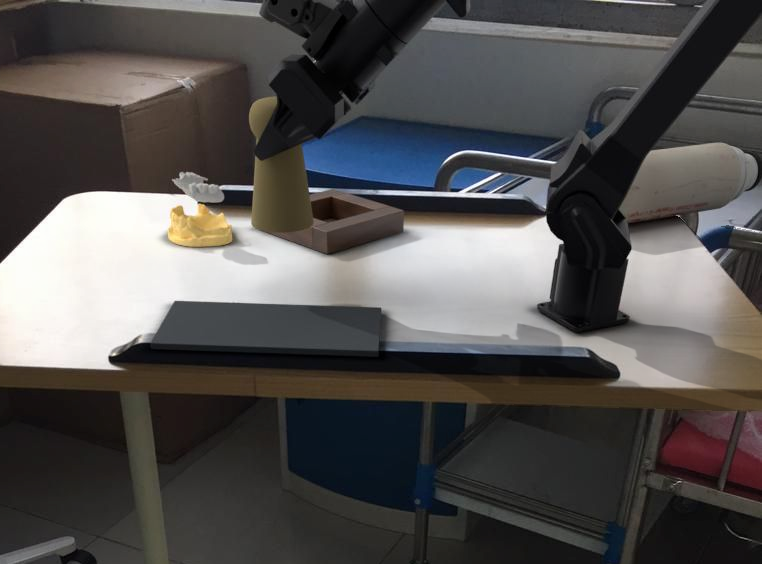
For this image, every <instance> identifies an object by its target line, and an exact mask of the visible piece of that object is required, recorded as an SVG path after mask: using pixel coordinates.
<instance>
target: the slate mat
mask: <svg viewBox="0 0 762 564" xmlns="http://www.w3.org/2000/svg"><path fill="white" fill-rule="evenodd" d="M381 323H382V307H378V306H377V307H373V306H349V305H348V306H347V305H316V304H313V305H312V304H290V303H289V304H286V303H285V304H284V303H283V304H282V303H256V302H254V303H253V302H230V301H229V302H226V301H199V300H198V301H197V300H195V301H194V300H174V301H173V303H172V304H171V307H170V308H169V310H168V312H167V313H166V315H165V317H164V318H163V320H162V322H161V324H160V326H159V328H158V329H157V331H156V333H155V335H154V336H153V337H152V339H151V341H150V344H149V345H150V348H151V350H166V351H192V352H193V351H194V352H223V353H250V354H251V353H253V354H280V355H281V354H283V355H307V356H309V355H311V356H336V357H337V356H338V357H339V356H340V357H341V356H342V357H367V358H379V357H380V356H379V355H380V340H381Z"/></svg>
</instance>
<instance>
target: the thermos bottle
mask: <svg viewBox="0 0 762 564" xmlns="http://www.w3.org/2000/svg"><path fill="white" fill-rule="evenodd" d="M761 180H762V158H761V156H760V155H759V153H757V152H755V151H753V150H745V151H743V150H742V149H740V148H738V147H735V146H733V145H729V144H728V143H724V142H711V143H703V144H702V143H701V144H693V145H686V146H685V145H684V146H677V147H671V148H670V147H669V148H662V149H652V150H651V151H650V152H649V153H648V155H647V156H646V158H645V159H644V161H643V163H642V165H641V167H640V169H639V171H638V173H637V175H636V177H635V179H634V181H633V183H632V185H631V188H630V190H629V192H628V194H627V196H626V198H625V199H624V201H623V203H622V204H621V206H620V208H619V209H620V211H621V212H622V213H623V214H624V216H625V217H626V218H627V223H628V224H633V223H638V222H645V221H646V222H647V221H653V220H658V219H663V218H664V219H665V218H670V217H676V216H677V217H678V216H682V215H688V214H689V215H690V214H695V213H702V212H707V211H714V210H719V209H722V208H724V207H726V206H727V205H728V204H730V203H731V202H733V201H735V200H737V199H738V198H739V197H741V196H742V195H743V194H744V192H745V193H746V192H750V191H752V190H754V189H755V188H756V187H757V186H759V184H760V182H761Z"/></svg>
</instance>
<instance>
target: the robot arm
mask: <svg viewBox="0 0 762 564" xmlns="http://www.w3.org/2000/svg"><path fill="white" fill-rule="evenodd" d="M446 4H448V6H449V7H450V8H451V9H452V11H453V13H455V15H456V16H457V17H458V18H459V19H464V18H465V17H466V16H467V15H468V14H469V13H470V11H471V0H340V1H337V0H262V3H261V6H260V8H259V12H258V14H259V16H261V18H263V19H264V20H266V21H267V22H269V23H276V24H278V25H280V26H281V27H283V28H285V29H287V30H288V31H291V32H292V33H294V34H295V35H297V36H299V37H301V38H303V39H306V40H304V42H303V43H302V44H301V48H302V49H303V50H304V51H305V53H306V54H294V53H293V54H289V55H287V56H286V57H284V58H282V59H280V60H279V61H278V62H277V64H276V65H275V66H274V67H273V69H271V71H270V72H269V73H268V75H266V77H265V80H266V81H265V82H266V83H267V85H268V86H269V87H270V89H271V90H273V92H274V93H275V95H276V96H277V105H276V107H275V109H274V111H273V113H272V115H271V117H270V119H269V121H268V123H267V125H266V127H265V129H264V131H263V133H262V135H261V137H260V139H259V141H258V143H257V145H256V144H255V146H254V148H253V151H252V153H253V155H254V156H256V157H257V158H258V159H259V160H260V161H263V160H266V159H268V158H270V157H272V156H275V155H277V154H279V153H282V152H284V151H286V150H288V149H291V148H293V147H296V146H298V145H300V144H302V145H303V144H305V143H308V142H309V141H312V140H314V139H318V140H321V139H322V138H324V137H325V135H327V134H328V133H329V131H330V130H331V129H333V127H335V126H336V124H337V123H338V122H340V120H341V119H342V118H343V117H344V116H346V115H347V114H348V113H349V112H350V111H351V110H352V106H351V104H353V103H354V104H355V105H357V106H358V105H359V103H361V101H363V99H364V98H365V97H367V95H368V94H369V93H370V92H371V91H372V90H373V89H374V88H375V86H376V79H377V78H379V76H380V75H381V73H383V72H384V70H386V68H387V67H388V66H389V65H391V63H392V62H393V61H394V60H395V59H396V58H397V57H398V56H399V55H400V54H401V53H402V52H403V51H404V49H405V48H406V47H407V46H408V45H409V44H410V42H411V41H413V39H414V38H415V37H416V36H417V35H418V33H420V32H421V30H422V29H423V28H424V27H425V26H426V25H427V24H428V23H429V22H430V21H431V20H432V19H433V17H435V15H436V14H437V13H438V12H439V11H440V10H441V9H442V8H443V7H444V5H446ZM761 17H762V0H705V2H704V3H703V5H702V6H701V7H700V8H699V10H698V11H697V12H696V13H695V15H694V16H693V18H692V19H691V20H690V21H689V22H688V24H687V25H686V26H685V28H684V29H683V30H682V32H681V33H680V34H679V36H678V37H677V38H676V39H675V41H674V42H673V43H672V44H671V46H670V47H669V48H668V50H667V51H666V53H664V55H663V56H662V57H661V59H660V60H659V61H658V63H657V64H656V65H655V67H654V68H653V69H652V70H651V72H650V73H649V74H648V76H647V77H646V78H645V80H644V81H643V82H642V83H641V85H640V86H639V87H638V89H637V90H636V91H635V93H634V94H633V95H632V96H631V98H630V99H629V100H628V101H627V103H626V104H625V106H623V108H622V109H621V111H620V112H619V113H618V114H617V115H616V117H615V118H614V120H613V121H612V122H611V123H610V124H608V126H606V127H605V128H604V129H603V130H602V131H600V132H599V133H597V134H596V135H595V136H593V137H592V138H590V137H589V136H588V135H587V134H586V133H585V131H584V130H583V129H579V130H578V131H577V133H576V135H575V137H574V139H573V140H572V142H571V144H570V146H569V148H568V149H567V150H566V152H565V154H564V155H563V156H562V157H560V159H559V160H558V161H556V162H554V163H553V164H551V166H550V176H549V183H548V187H547V189H546V190H547V191H546V203H545V219H546V224H547V226H548V229H549V230H550V232H551V234H553V235H554V237H556V239H558V240H560V241H561V242H562V243H560V244H558V249H557V254H556V255H557V256H556V258H555V260H554V265H553V272H552V280H551V286H550V291H549V292H550V293H549V301H545V302H540V303H538V304H536V310H537V311H539V312H541V313H543V314H544V315H545V316H547V317H548V318H550V319H553V320H554V321H555V322H557V323H560V324H561V325H563V326H564V327H566V328H568V329H569V330H571V331H573V332H577V333H580V332H586V331H590V330H594V329H600V328H605V327H610V326H615V325H619V324H624V323H629V322H630V318H631V316H630V315H629V314H627V313H625V312H623V311H621V310H620V306H621V300H622V296H623V292H624V291H623V290H624V285H625V279H626V276H627V270H628V265H629V258H628V257H629V256H630V253H631V252H632V251H633V247H632V241H631V235H630V230H629V229H630V228H629V223H627V218H626V217H625V216H624V214H623V213H622V212H621V211H620V209H619V208H620V206H621V204H622V203H623V201H624V199H625V198H626V196H627V194H628V192H629V190H630V188H631V185H632V183H633V181H634V179H635V177H636V175H637V173H638V171H639V169H640V167H641V165H642V163H643V161H644V159H645V158H646V156H647V155H648V153H649V152H650V151H652V150H653V148H654V147H655V146H656V145H657V144H658V142H659V141H661V139H662V138H663V137H664V135H665V134H666V133H667V131H668V130H669V129H670V128H671V126H673V124H674V123H675V122H676V120H677V119H678V118H679V117H680V116H681V115H682V113H684V111H685V110H686V108H688V106H689V105H690V104H691V102H692V101H693V100H694V99H695V97H696V96H697V95H698V93H699V92H700V91H701V90H702V89H703V88H704V86H705V85H706V84H707V83H708V81H709V80H710V79H711V78H712V77H713V76H714V74H715V73H716V72H717V70H719V68H720V67H721V66H722V65H723V63H724V62H725V61H726V60H727V58H728V57H729V56H730V54H731V53H732V52H733V51H734V50H735V49H736V47H737V46H738V45H739V43H740V42H741V41H742V40H743V39H744V38H745V36H746V35H747V33H748V32H749V31H750V30H751V29H752V27H753V26H754V25H755V24H756V23H757V22H758V20H759V19H760V18H761ZM312 59H313V60H314V61H313V60H312ZM344 96H345V97H346V98H347V99H348V100H349V102H351V104H350V103H349V102H348V100H347V99H346V98H345V97H344Z"/></svg>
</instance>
